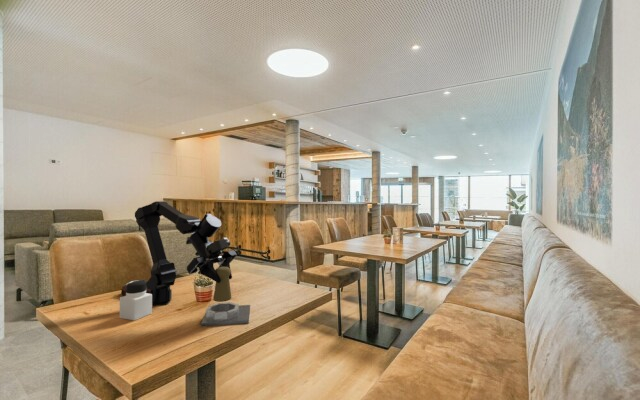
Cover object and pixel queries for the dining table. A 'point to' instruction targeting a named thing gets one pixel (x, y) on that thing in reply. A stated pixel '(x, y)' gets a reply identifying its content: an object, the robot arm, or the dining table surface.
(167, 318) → the dining table surface
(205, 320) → the socket block
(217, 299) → the cork
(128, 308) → the medicine bottle
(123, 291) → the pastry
